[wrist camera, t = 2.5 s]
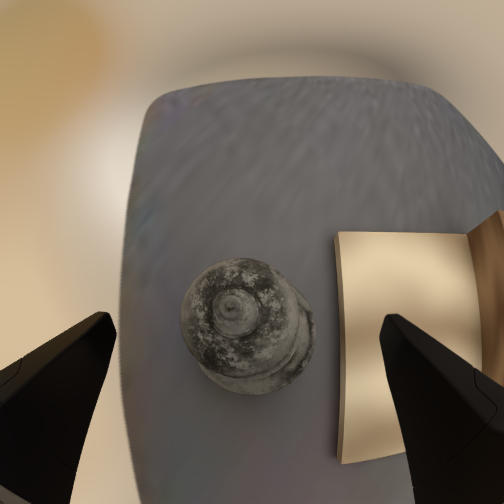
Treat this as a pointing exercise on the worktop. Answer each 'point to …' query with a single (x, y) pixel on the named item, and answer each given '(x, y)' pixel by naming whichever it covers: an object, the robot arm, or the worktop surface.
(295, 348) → the grey tall rounded piece
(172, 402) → the worktop surface
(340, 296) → the board
